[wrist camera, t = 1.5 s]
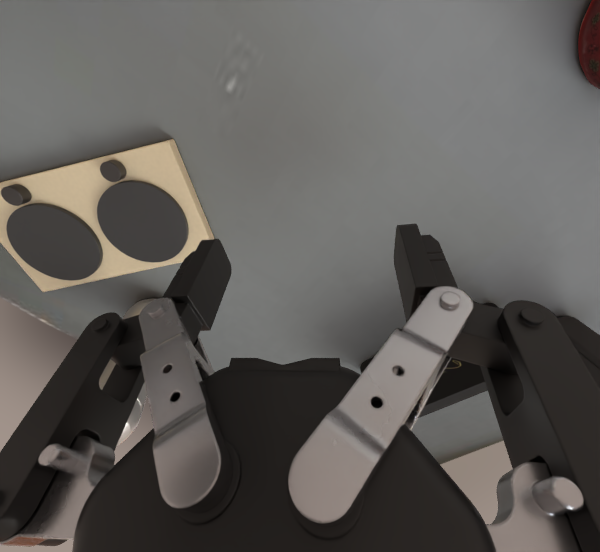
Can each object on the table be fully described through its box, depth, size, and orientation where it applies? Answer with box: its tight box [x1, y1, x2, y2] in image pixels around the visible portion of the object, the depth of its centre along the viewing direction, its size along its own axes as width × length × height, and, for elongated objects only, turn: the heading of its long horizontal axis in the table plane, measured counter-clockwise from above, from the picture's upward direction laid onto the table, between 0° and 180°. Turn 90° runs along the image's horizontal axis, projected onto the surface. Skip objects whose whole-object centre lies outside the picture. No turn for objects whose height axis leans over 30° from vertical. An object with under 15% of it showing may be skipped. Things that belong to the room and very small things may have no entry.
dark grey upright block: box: [557, 316, 600, 389], centre depth 37 cm, size 9×4×15 cm, turn 16°
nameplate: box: [361, 303, 499, 418], centre depth 38 cm, size 21×2×10 cm, turn 125°
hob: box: [0, 139, 214, 292], centre depth 30 cm, size 12×22×3 cm, turn 102°
